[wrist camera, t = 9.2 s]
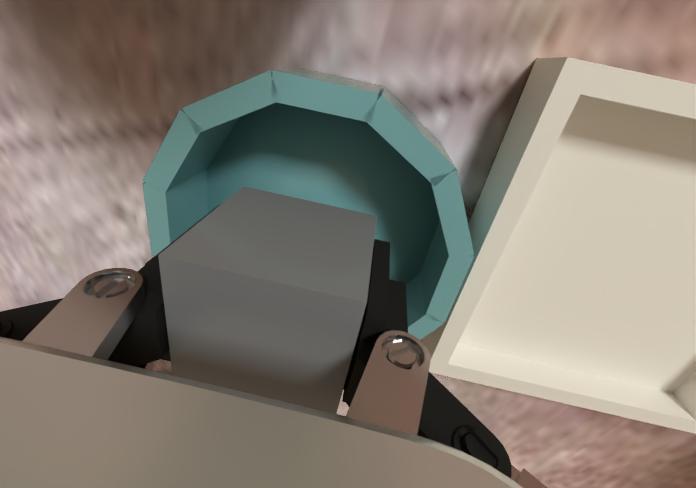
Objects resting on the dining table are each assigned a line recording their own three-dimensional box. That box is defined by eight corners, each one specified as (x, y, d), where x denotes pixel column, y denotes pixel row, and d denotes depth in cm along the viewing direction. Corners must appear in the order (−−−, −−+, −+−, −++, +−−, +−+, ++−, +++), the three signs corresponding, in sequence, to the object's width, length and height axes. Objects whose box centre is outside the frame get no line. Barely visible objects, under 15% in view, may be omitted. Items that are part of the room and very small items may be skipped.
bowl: (497, 110, 12) (532, 126, 9) (409, 336, 18) (413, 393, 15) (190, 44, 12) (123, 38, 9) (201, 288, 18) (162, 334, 15)
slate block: (376, 215, 11) (366, 302, 7) (351, 317, 13) (332, 427, 9) (243, 186, 11) (157, 254, 7) (240, 292, 13) (174, 390, 9)
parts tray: (928, 141, 11) (1048, 159, 9) (666, 392, 17) (701, 435, 15) (536, 58, 11) (567, 57, 9) (421, 336, 18) (425, 371, 16)
